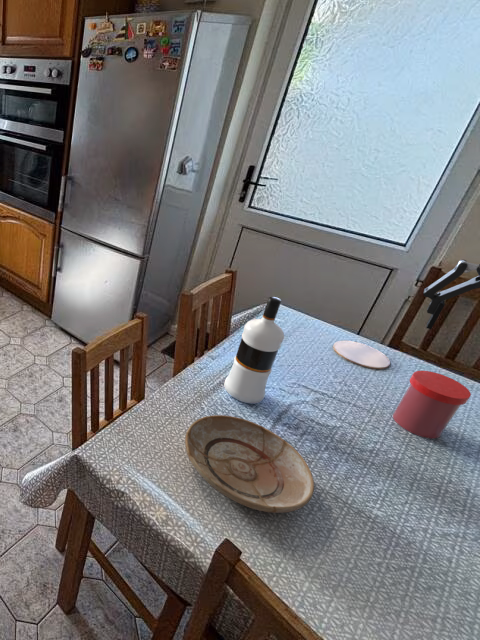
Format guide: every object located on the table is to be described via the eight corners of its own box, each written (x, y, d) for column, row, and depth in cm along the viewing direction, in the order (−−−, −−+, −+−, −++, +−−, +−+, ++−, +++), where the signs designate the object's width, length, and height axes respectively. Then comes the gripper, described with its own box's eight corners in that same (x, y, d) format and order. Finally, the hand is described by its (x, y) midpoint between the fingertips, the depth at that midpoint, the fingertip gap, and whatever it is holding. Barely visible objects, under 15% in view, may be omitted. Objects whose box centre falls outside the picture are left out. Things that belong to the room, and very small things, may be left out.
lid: (466, 390, 96) (470, 384, 96) (467, 411, 91) (472, 405, 90) (410, 371, 103) (414, 365, 102) (408, 390, 97) (411, 383, 96)
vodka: (215, 386, 115) (243, 293, 102) (239, 377, 118) (270, 286, 105) (246, 409, 107) (281, 312, 94) (271, 399, 110) (308, 304, 97)
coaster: (391, 354, 125) (392, 353, 125) (387, 375, 117) (388, 373, 117) (336, 336, 134) (337, 335, 134) (329, 354, 126) (330, 353, 126)
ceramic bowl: (183, 416, 105) (187, 401, 103) (296, 451, 95) (303, 436, 93) (179, 492, 87) (183, 476, 85) (317, 546, 77) (327, 530, 75)
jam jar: (440, 424, 101) (466, 386, 96) (440, 444, 96) (467, 405, 91) (394, 406, 107) (415, 368, 102) (391, 424, 102) (413, 385, 96)
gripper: (625, 260, 75) (555, 355, 85) (436, 227, 91) (395, 310, 101) (636, 274, 71) (561, 372, 80) (436, 237, 87) (392, 322, 96)
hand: (468, 337), depth 90 cm, fingers open, 12 cm apart
